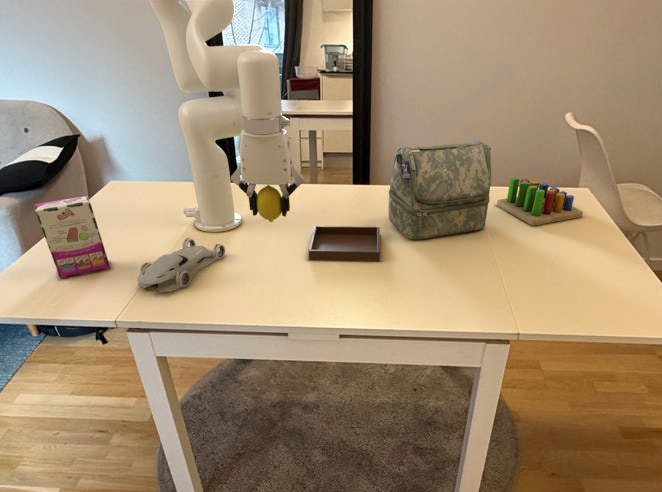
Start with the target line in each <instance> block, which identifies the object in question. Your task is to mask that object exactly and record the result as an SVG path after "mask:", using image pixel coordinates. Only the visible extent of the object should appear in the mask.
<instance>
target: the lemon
mask: <svg viewBox="0 0 662 492" xmlns="http://www.w3.org/2000/svg"><path fill="white" fill-rule="evenodd" d="M281 198H282V194H281V192H279V190H278V189H277V188H275V187H274V186H272V185H265V186H264V187H262V188H261V189H260V190H259V191H258V193H257V200H256V205H257V210H258V214H259V215H260V217H261V218H263V219H265V221H266V220H267V221H268V222H269V223H273V222H274V220H277V219H278V218H279V217H280V216H282V206H281Z"/></svg>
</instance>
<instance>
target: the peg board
mask: <svg viewBox="0 0 662 492" xmlns="http://www.w3.org/2000/svg"><path fill="white" fill-rule="evenodd" d="M560 190H561V189H560V188H557V187H555V186H552V187H550V188H549V184H548V183H547V182H539V181H536V180H532V181H530V180H529V179H527V178H523V179H520V178H518V177H516V176H514V177H510V178H509V183H508V189H507V197H506V198H499V199H497V200H496V206H498V207H499V208H501V209H503V210H504V211H505V212H508V213H509V214H512V215H513V216H514V217H516V218H518V219H520V220H522V221H523V222H525V223H527V224H528V225H530V226H540V225H546V224H550V223H556V222H561V221H566V220H573V219H579V218H582V216H583V214H584V212H583V210H581V209H579V208H577V207H575V206H573V204H574V200H575V196H574V195H573V194H568V192H567V191H565V190H562V191H560Z"/></svg>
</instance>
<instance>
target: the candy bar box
mask: <svg viewBox="0 0 662 492" xmlns="http://www.w3.org/2000/svg"><path fill="white" fill-rule="evenodd" d="M34 206H35V207H34V210H35V214H36V217H37V221H38V223H39V225H40V229H41V230H42V233H43V236H44V239H45V241H46V244H47V246H48V249H49V252H50V254H51V258H52V260H53V263H54V265H55V268H56V271H57V274H58V277H59V279H60V280H61V279H62V280H63V279H69V278H72V277H79V276H83V275H88V274H92V273H97V272H102V271H106V270H107V271H108V270H111V265H110V262H109V259H108V256H107V251H106V248H105V245H104V241H103V239H102V236H101V232H100V229H99V226H98V223H97V220H96V217H95V213H94V210H93V206H92V204H91V200H90V199H89V196H88V195H82V196H77V197H71V198H64V199H59V200H53V201H47V202H41V203H35V204H34Z"/></svg>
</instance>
